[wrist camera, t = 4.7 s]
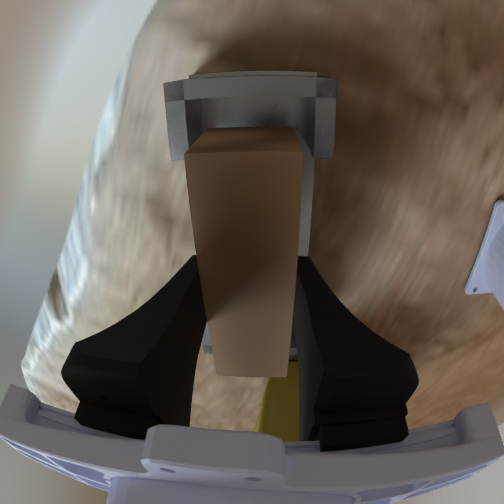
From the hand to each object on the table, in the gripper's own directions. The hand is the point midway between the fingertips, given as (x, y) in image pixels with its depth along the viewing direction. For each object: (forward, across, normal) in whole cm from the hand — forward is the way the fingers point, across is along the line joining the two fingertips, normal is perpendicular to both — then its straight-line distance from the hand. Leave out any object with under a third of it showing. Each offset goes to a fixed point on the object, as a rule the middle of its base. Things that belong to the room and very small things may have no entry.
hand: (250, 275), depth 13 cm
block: (+2, 0, 0) cm, 3 cm away
